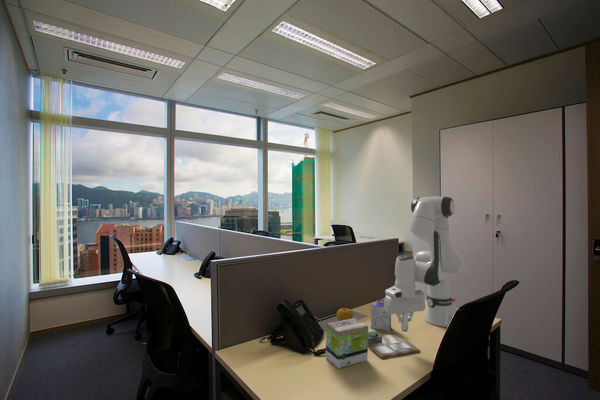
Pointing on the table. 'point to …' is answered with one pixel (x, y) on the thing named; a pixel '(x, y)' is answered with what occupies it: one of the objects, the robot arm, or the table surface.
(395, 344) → the brown shallow tray
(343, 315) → the apple
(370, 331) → the button
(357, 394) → the table surface
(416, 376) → the table surface
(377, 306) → the ink cartridge box
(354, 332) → the tea box
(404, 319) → the cylinder
